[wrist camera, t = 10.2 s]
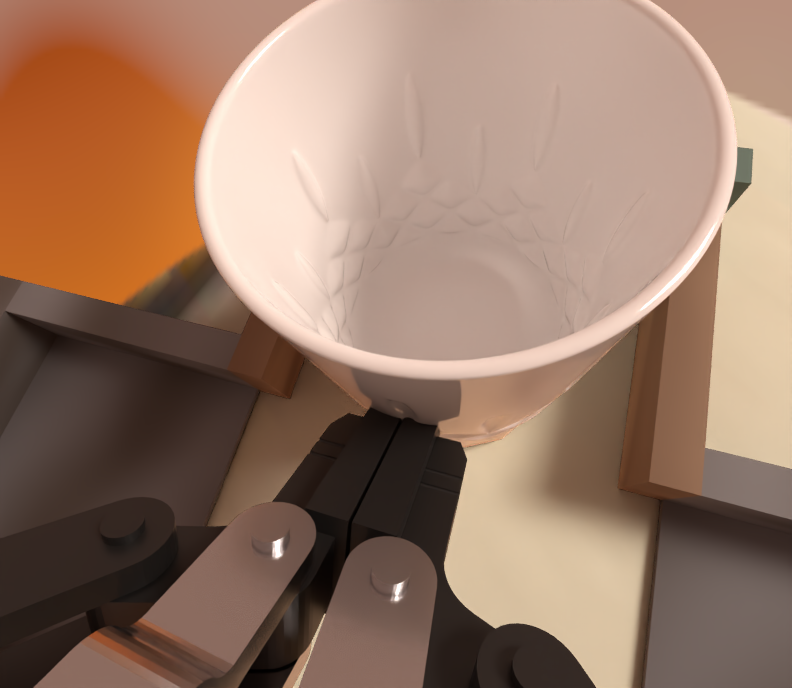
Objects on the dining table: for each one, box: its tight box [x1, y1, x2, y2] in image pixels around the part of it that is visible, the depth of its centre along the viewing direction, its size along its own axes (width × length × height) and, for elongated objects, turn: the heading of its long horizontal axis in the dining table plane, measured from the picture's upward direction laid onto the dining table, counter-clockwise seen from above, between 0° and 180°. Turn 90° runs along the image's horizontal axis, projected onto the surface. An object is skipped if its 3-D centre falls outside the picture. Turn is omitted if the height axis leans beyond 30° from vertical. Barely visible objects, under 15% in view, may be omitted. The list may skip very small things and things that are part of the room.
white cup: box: [194, 0, 737, 448], centre depth 11 cm, size 8×8×10 cm
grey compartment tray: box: [0, 147, 792, 688], centre depth 12 cm, size 34×30×4 cm
